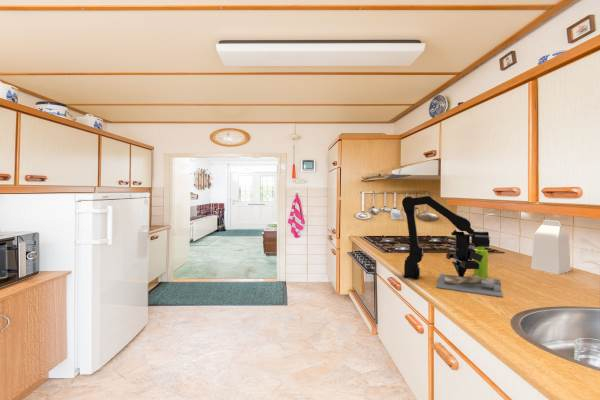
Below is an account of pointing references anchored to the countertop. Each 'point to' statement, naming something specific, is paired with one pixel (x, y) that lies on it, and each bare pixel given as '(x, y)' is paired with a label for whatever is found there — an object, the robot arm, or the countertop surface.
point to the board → (468, 287)
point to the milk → (551, 248)
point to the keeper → (495, 283)
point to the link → (462, 279)
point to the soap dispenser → (482, 262)
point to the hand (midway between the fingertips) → (461, 278)
